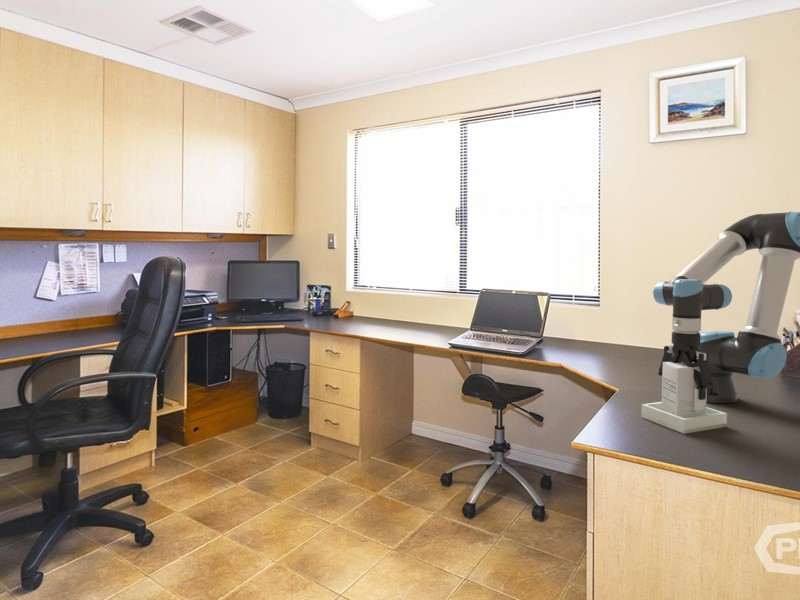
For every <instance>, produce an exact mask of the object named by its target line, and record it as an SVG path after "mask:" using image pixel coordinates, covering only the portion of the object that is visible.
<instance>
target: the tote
mask: <svg viewBox="0 0 800 600" xmlns="http://www.w3.org/2000/svg"><path fill="white" fill-rule="evenodd" d="M661 407H662V401H658V402H657V401H656V402H651V403H650V402H649V403H643V404H641V409H640V411H641V414H640V417H641V418H643V419H645V420H648V421H651V422H654V423H655V424H659V425H660V426H664V427H666V428H668V429H671V430H674V431H676V432H679V433H681V434H690V433H697V432H703V431H710V430H714V429H720V428H721V429H723V428H727V421H728V413H726V412H724V411H721V410H717V409H714V408H712V407H707V406H706V415H704V416H697V417H686V418H682V417H679V416H676V415H673V414H671V413H668V412H666V411H664V410H662V409H661Z"/></svg>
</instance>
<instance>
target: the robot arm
mask: <svg viewBox="0 0 800 600" xmlns="http://www.w3.org/2000/svg"><path fill="white" fill-rule="evenodd" d="M757 249H758V253H759V254H760V255H761V257H762V259H761V263H760V266H759V272H758V274H757V279H756V283H755V287H754V291H753V295H752V298H751V299H752V300H751V303H750V307H749V311H748V315H747V320H746V323H745V327H743V328H742V329H740V330H738V333H737V336H736V334H735V333H734V331H729V330H728V331H727V330H726V331H725V330H724V331H721V330H720V331H719V330H718V331H701V330H702V311H708V310H711V311H712V310H720V309H721V310H722V309H725V308H727V307H728V306H729V305H730V304H731V302H732V300H733V294H732V291H731V289H730V288H729V287H728V286H727V285H724V284H719V283H713V284H705V283H707V282H708V280H710V279H711V278H712V277H713V276H714V275H715V274H716V273H718V272H719V271H720V270H721V269H722V268H724V267H725V266H726V265H727V264H728V263H729V262H730V261H731V260H733V259H734V258H735V257H737V256H741V255H743V254H745V252H746V251H751V250H757ZM798 259H800V211H787V212H774V213H773V212H772V213H757V214H756V213H755V214H752V215H749V216H747V217H744V218H742V219H740V220H739V221H738V220H737V222H735V223H733V224H732V225H730V226H728V227H727V228H726V229H724V230H723V231H722V232H721V233H720V234H719V235H718V236H717V239H716V241H715V242H714V243H713V244H712V245H710V246H709V247H708V248H707V249H705V250H704V252H702V253H701V254H700V255H699V256H697V257H696V258H695V259H694V260H693V261H692V262H691V263H689V264H688V265H687V266H686V267H684V268H683V269H682V270H681V271H680V272H679V273H678V274H677V275H676V276H674V277H673V278H672V279H670V280H669V281H660V282H658V283H656V284H655V285H654V287H653V289H652V290H653V291H652V295H653V299H654V301H655V302H656V303H658V304H660V305H665V306H668V307H669V306H672V316H671V317H672V319H671V320H672V324H671V327H672V332H671V343H672V345H665V346H663V354H662V355H663V356H662V359H661V362H660V366H659V370H658V373H657V374H658V376H661V377H662V369H663V362H673V363H677V362H683V363H686V364H687V366H688V367H693V368H694V367H699V369H700V372H699V371H697V370H695V369H694V374H693V377H694V380H695V382H696V385H697V387H696V388H695V397H694V410H695V411H698V410H703V405H704V400H705V398H706V389H707V398H706V403H712V404H733V403H736V402H737V401H738V392H737V390H736V386H735V383H734V379H733V373H735V374H739V375H743V376H748V377H752V378H755V379H758V378H759V379H765V380H766V379H767V380H769V379H772V378H774V377H776V376H777V375H779V374H780V373H781V372H782V371H783V368H784V367H785V365H786V361H787V358H788V357H787V355H788V354H787V349H786V347H785V346H784V345H782V343H781V342H782V338H781V337H780V336H779V334H778V331H779V327H780V322H781V318H782V314H783V310H784V306H785V302H786V298H787V296H788V295H787V294H788V290H789V287H790V282H791V277H792V274H793V270H794V265H795V261H796V260H798ZM700 331H701V332H700ZM693 362H694V363H693Z"/></svg>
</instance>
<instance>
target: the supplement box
mask: <svg viewBox="0 0 800 600" xmlns="http://www.w3.org/2000/svg"><path fill="white" fill-rule="evenodd" d="M693 363H694V362H693ZM694 369H695V370H697V371H699V372H700V369H699V367H694V368H693V367H688V366H687V364H686V363H683V362H677V363H673V362H663V369H662V376H661V380H662V382H661V402H662V407H661V409H662V410H664V411H666V412H668V413H671V414H673V415H676V416H679V417H682V418H686V417H697V416H704V415H706V407H707V402H706V398H707V389H706V398H705V400H704V405H703V410H698V411H695V410H694V397H695V388H696V387H697V385H696V382H695V380H694V377H693V374H694Z"/></svg>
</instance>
